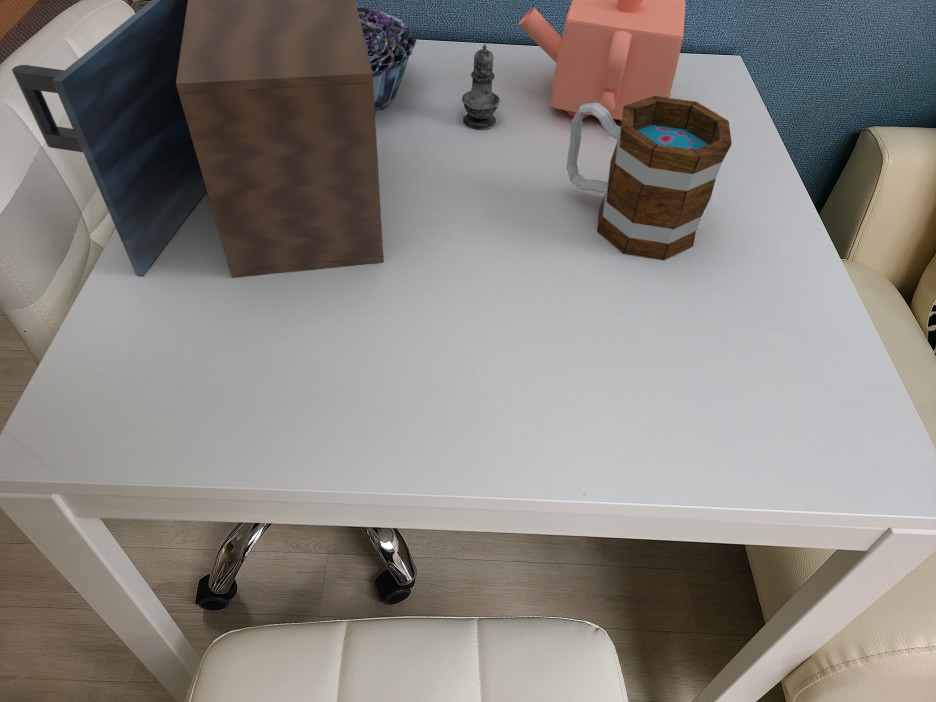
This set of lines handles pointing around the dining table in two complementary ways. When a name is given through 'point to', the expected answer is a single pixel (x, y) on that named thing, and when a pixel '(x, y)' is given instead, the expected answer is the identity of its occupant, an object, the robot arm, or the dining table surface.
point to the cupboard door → (128, 126)
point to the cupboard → (284, 131)
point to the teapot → (611, 51)
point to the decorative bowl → (385, 52)
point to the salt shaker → (481, 93)
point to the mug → (655, 173)
